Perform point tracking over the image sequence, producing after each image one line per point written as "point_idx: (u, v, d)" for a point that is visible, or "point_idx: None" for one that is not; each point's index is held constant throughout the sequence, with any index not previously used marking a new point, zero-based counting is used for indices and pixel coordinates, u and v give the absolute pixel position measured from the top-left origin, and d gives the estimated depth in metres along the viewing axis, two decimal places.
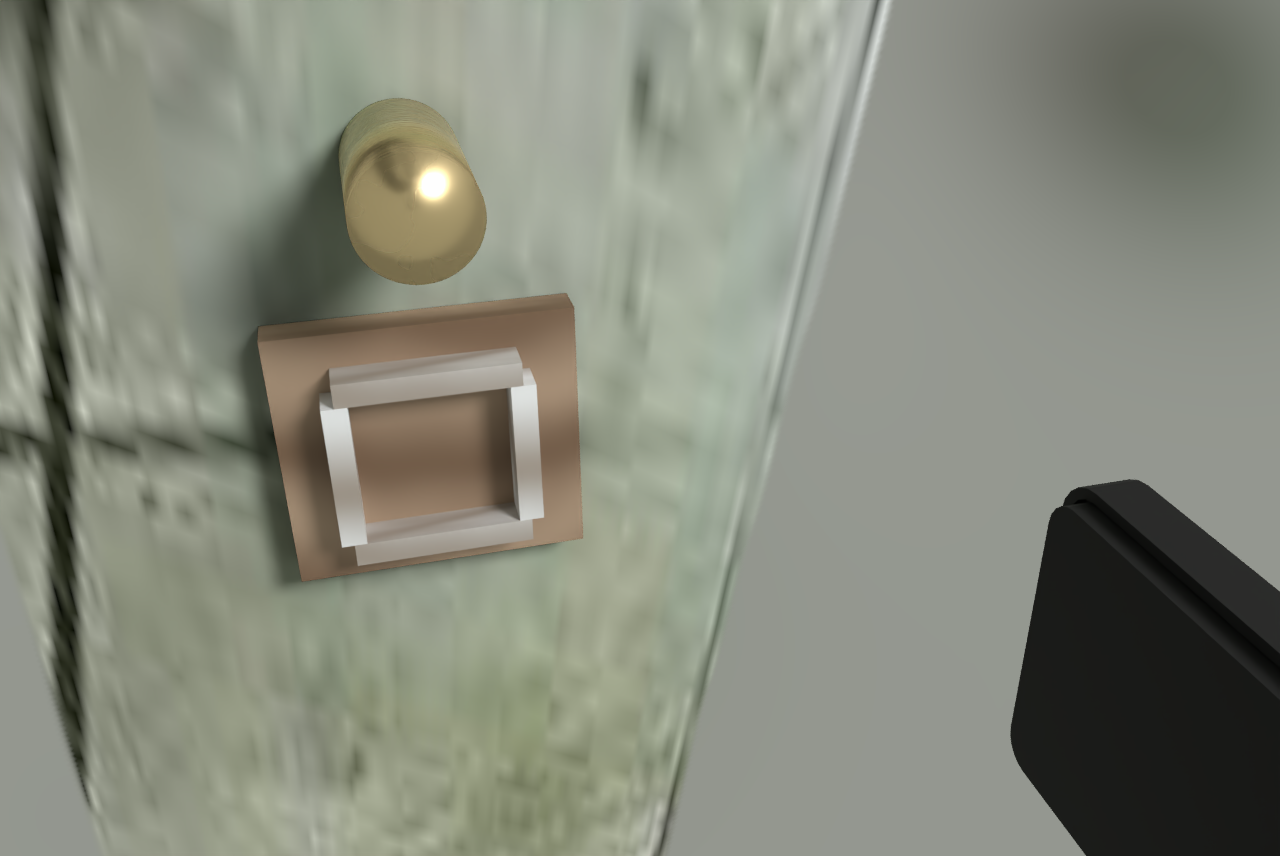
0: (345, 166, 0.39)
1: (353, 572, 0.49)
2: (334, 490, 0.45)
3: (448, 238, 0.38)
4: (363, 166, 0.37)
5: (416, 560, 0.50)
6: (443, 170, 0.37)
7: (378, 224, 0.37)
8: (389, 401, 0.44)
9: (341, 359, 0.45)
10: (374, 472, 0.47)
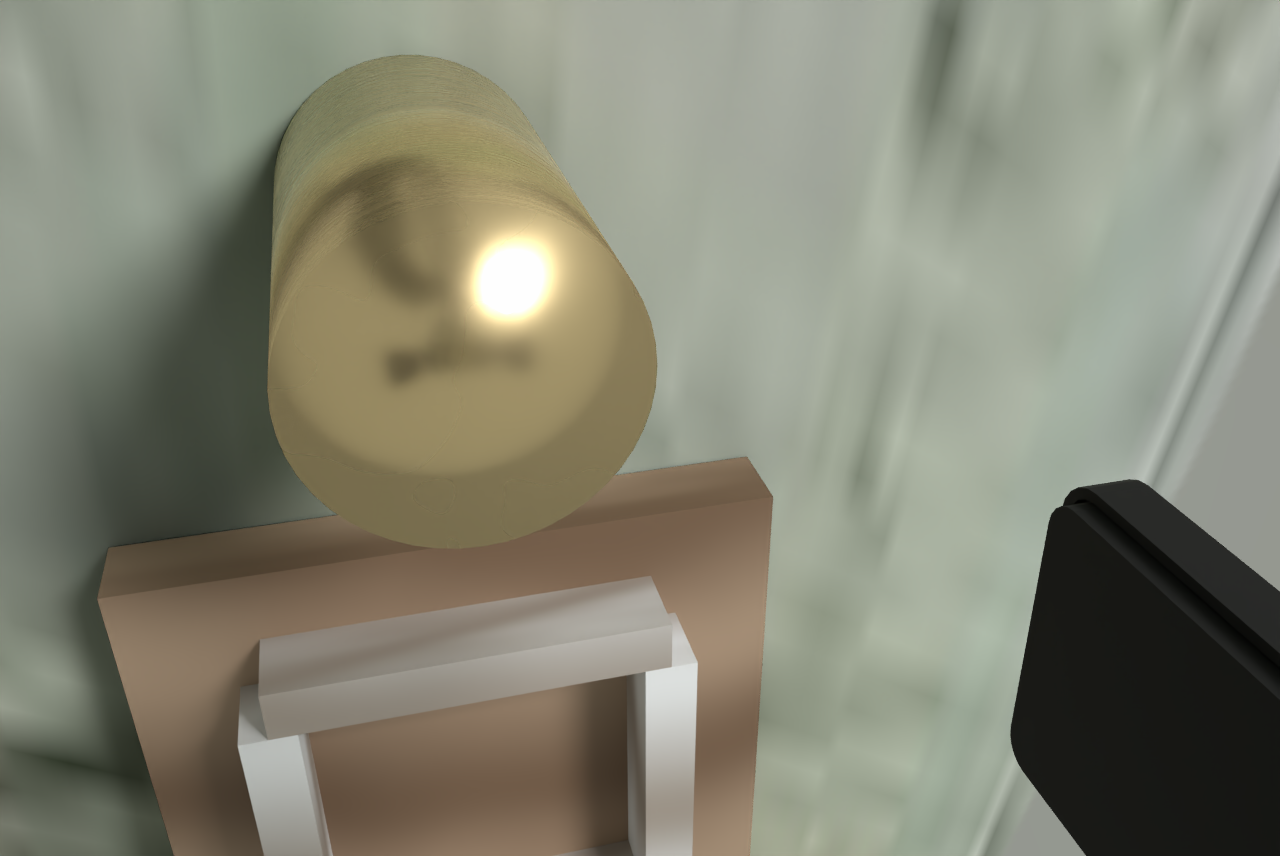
0: (278, 226, 0.15)
1: None
2: None
3: (553, 431, 0.14)
4: (317, 241, 0.13)
5: None
6: (548, 253, 0.13)
7: (359, 403, 0.13)
8: (390, 715, 0.20)
9: (286, 621, 0.21)
10: (358, 815, 0.23)
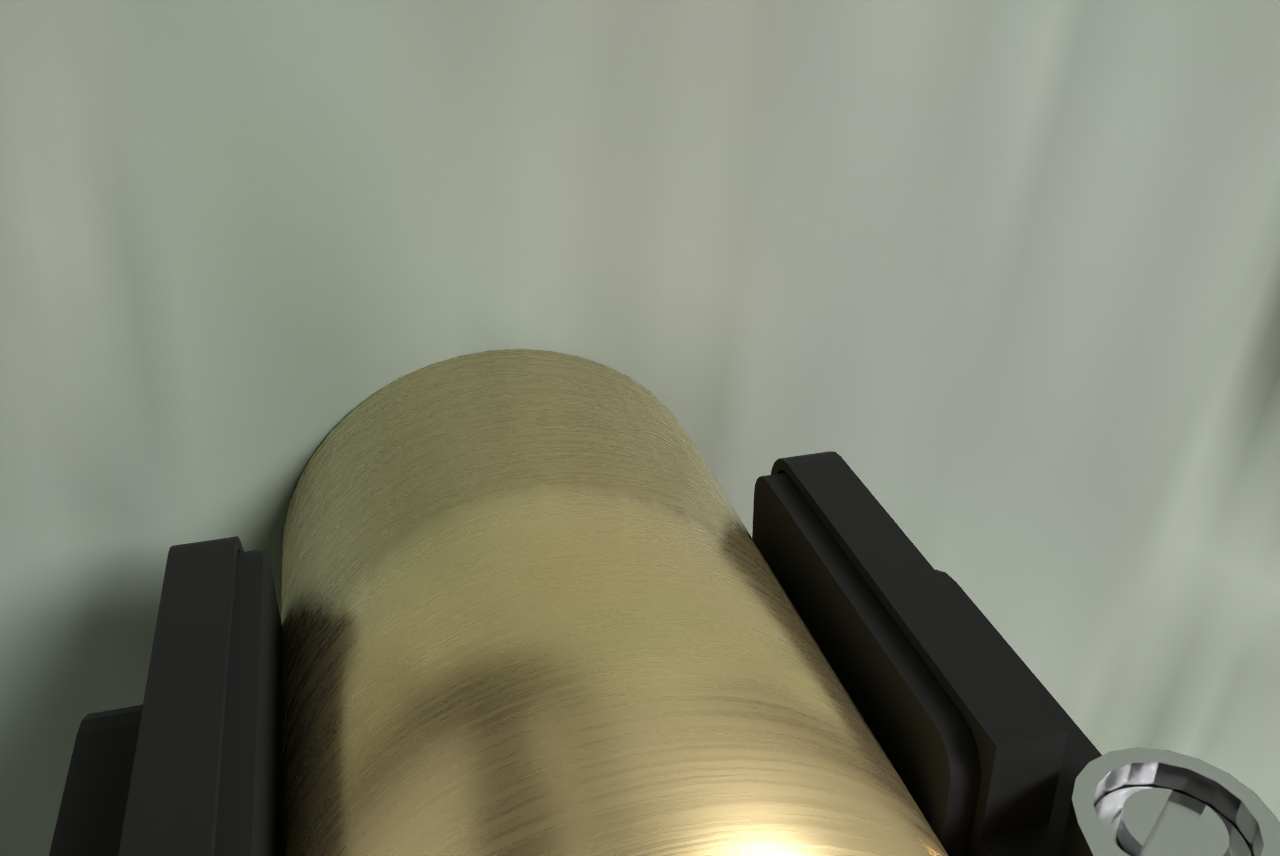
0: (291, 764, 0.08)
1: None
2: None
3: None
4: None
5: None
6: None
7: None
8: None
9: None
10: None
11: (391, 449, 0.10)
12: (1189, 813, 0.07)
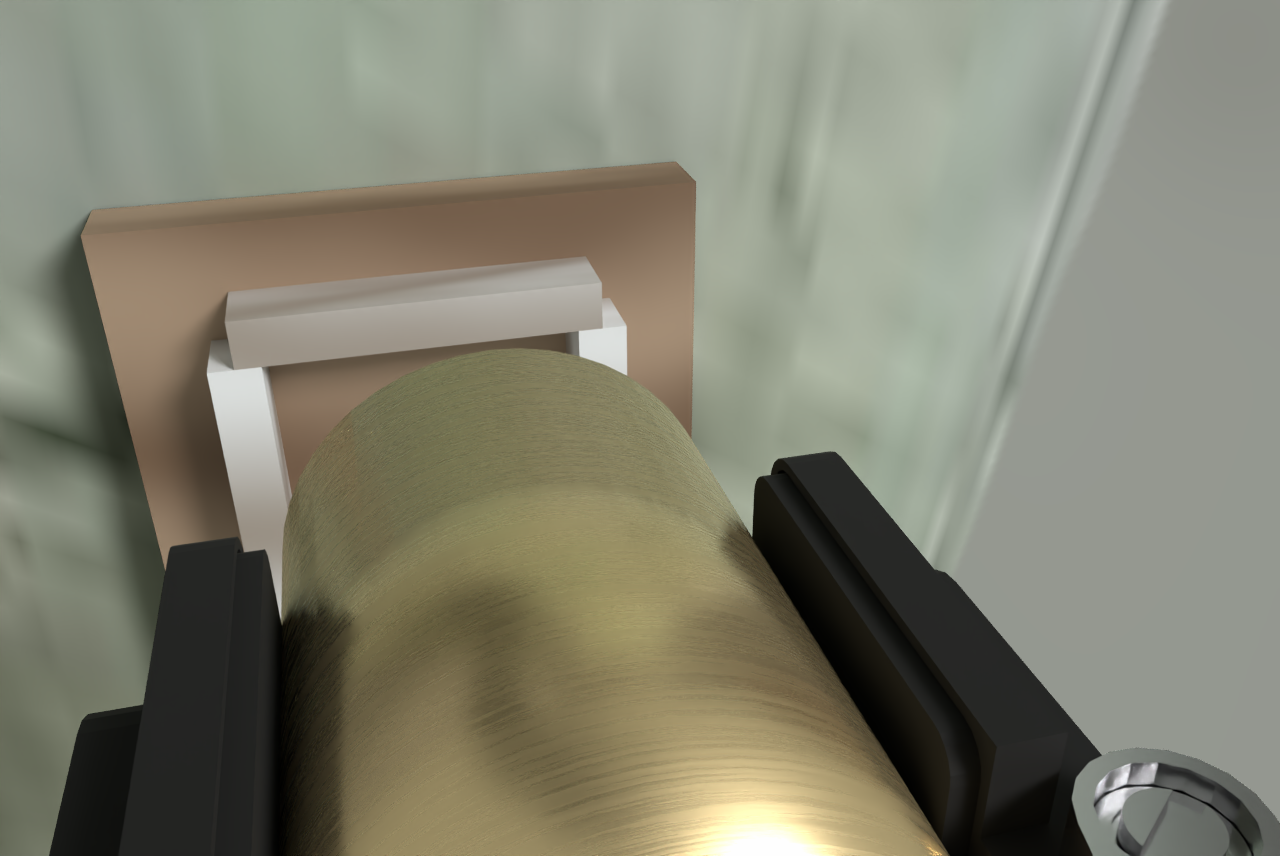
0: (291, 764, 0.08)
1: None
2: (242, 526, 0.24)
3: None
4: None
5: None
6: None
7: None
8: (344, 355, 0.23)
9: (252, 274, 0.23)
10: None
11: (391, 448, 0.10)
12: (1191, 815, 0.07)
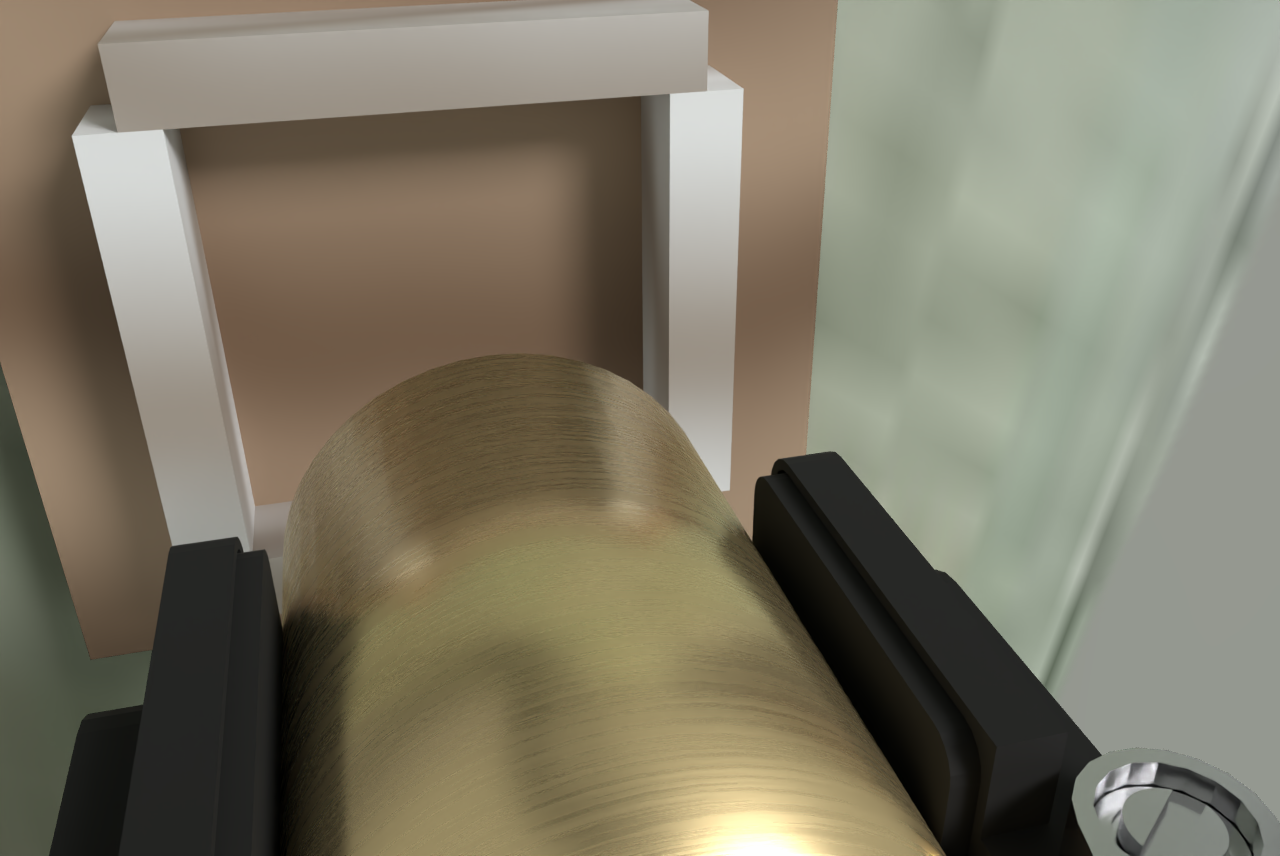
0: (292, 771, 0.08)
1: None
2: (142, 403, 0.15)
3: None
4: None
5: None
6: None
7: None
8: (299, 115, 0.14)
9: None
10: (272, 361, 0.17)
11: (392, 454, 0.10)
12: (1189, 813, 0.07)
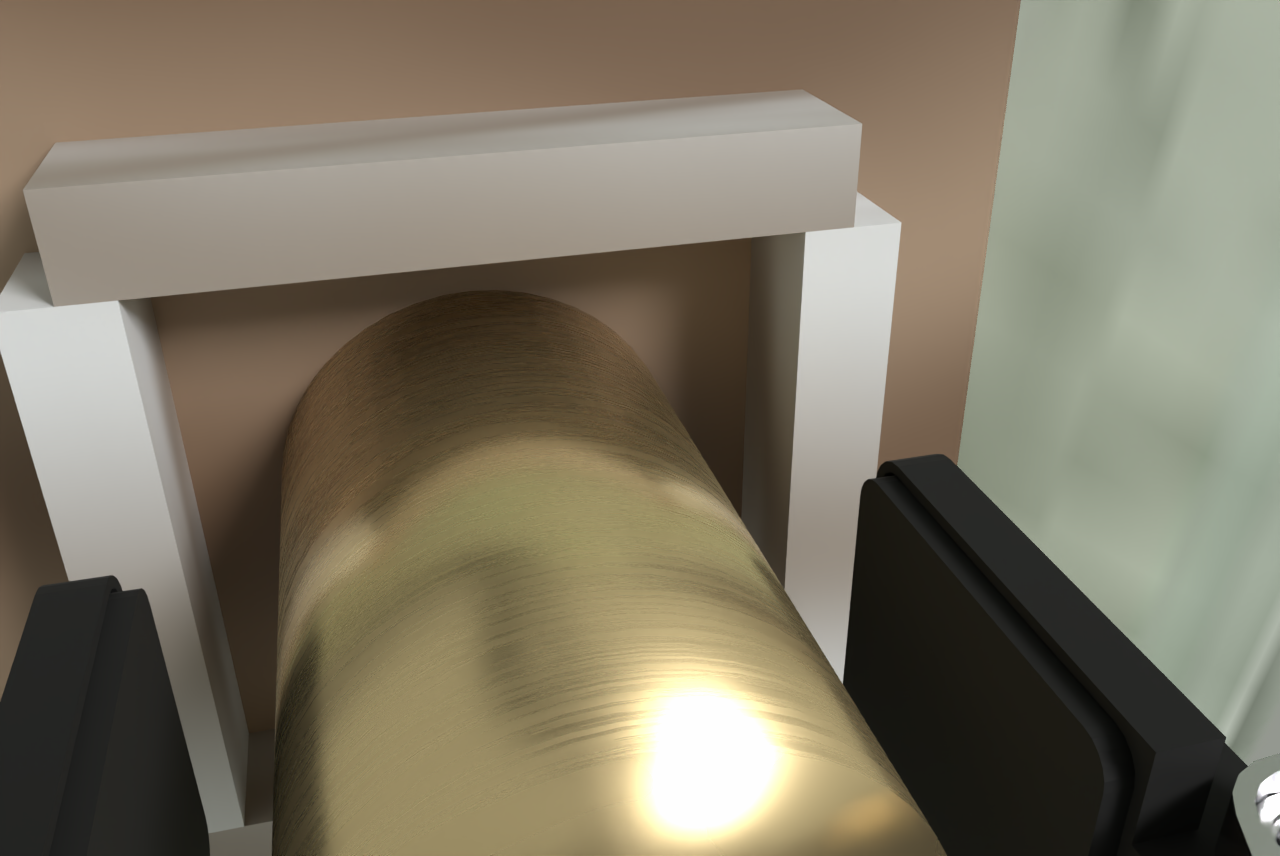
0: (288, 630, 0.09)
1: None
2: None
3: None
4: (361, 789, 0.07)
5: None
6: (795, 813, 0.07)
7: None
8: (308, 276, 0.10)
9: (107, 103, 0.11)
10: (271, 561, 0.13)
11: (378, 372, 0.11)
12: None
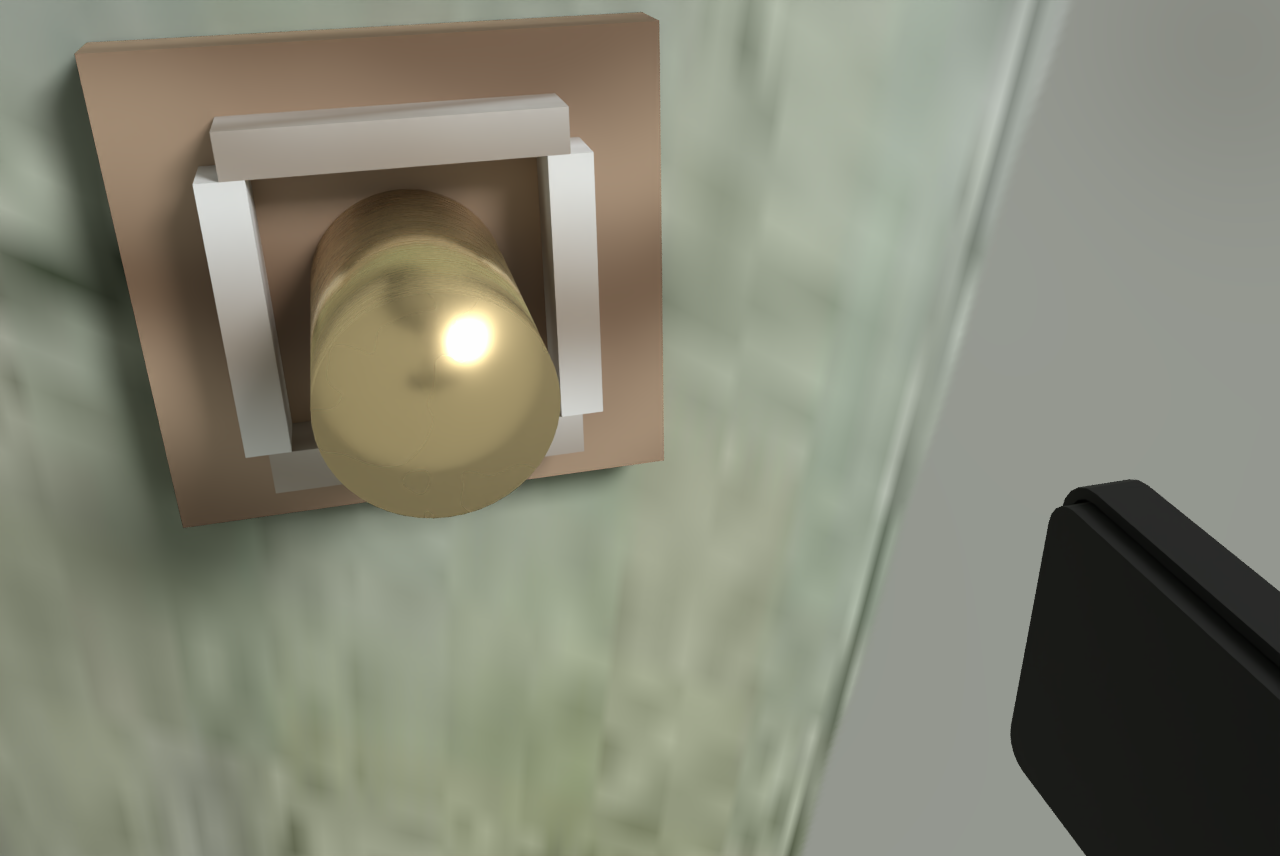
0: (315, 308, 0.23)
1: (273, 512, 0.29)
2: (227, 346, 0.25)
3: (493, 440, 0.21)
4: (342, 317, 0.20)
5: None
6: (487, 324, 0.20)
7: (368, 420, 0.21)
8: (324, 171, 0.24)
9: (237, 99, 0.24)
10: (305, 326, 0.27)
11: (355, 219, 0.25)
12: None
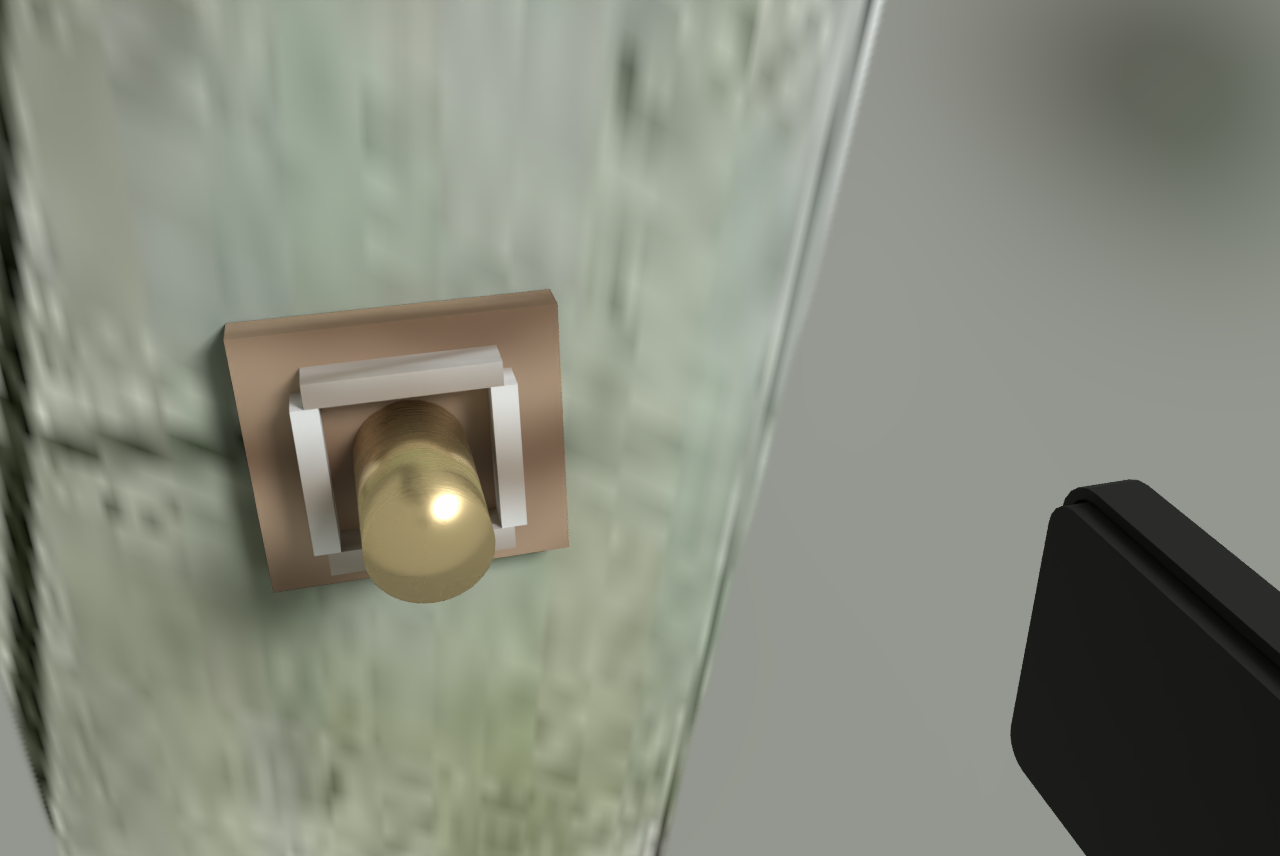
0: (360, 483, 0.41)
1: (327, 582, 0.47)
2: (305, 495, 0.43)
3: (459, 562, 0.40)
4: (379, 501, 0.39)
5: None
6: (456, 505, 0.39)
7: (393, 555, 0.39)
8: (362, 401, 0.42)
9: (312, 358, 0.42)
10: (348, 476, 0.45)
11: (380, 423, 0.43)
12: None
